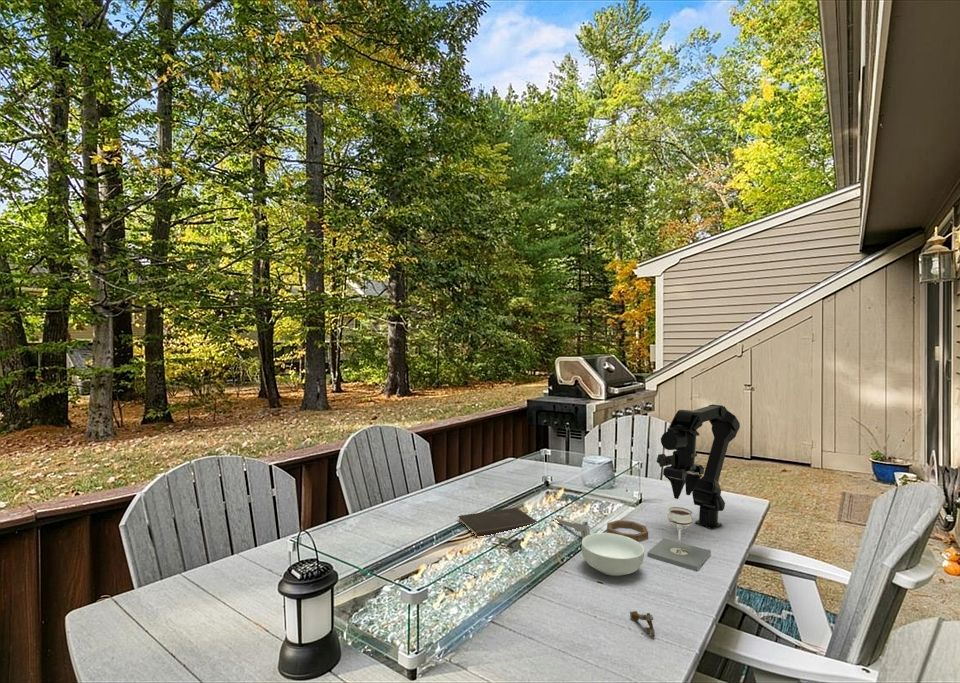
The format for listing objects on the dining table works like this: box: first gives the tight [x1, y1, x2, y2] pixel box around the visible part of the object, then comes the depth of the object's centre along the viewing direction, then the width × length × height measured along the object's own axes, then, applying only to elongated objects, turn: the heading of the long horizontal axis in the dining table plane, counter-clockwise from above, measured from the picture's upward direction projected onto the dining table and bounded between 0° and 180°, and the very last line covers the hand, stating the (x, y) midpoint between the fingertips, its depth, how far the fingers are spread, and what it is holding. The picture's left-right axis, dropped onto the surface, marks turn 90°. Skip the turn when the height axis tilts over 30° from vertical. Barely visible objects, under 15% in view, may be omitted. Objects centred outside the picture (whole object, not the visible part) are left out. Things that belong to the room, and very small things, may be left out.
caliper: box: [553, 517, 591, 540], centre depth 165 cm, size 20×1×6 cm, turn 24°
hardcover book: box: [457, 507, 538, 537], centre depth 169 cm, size 16×23×2 cm
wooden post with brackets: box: [629, 610, 656, 638], centre depth 110 cm, size 2×8×4 cm, turn 14°
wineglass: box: [667, 506, 693, 555], centre depth 148 cm, size 7×7×12 cm
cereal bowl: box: [581, 532, 645, 577], centre depth 138 cm, size 17×17×7 cm
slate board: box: [646, 537, 712, 571], centre depth 147 cm, size 14×14×1 cm
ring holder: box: [606, 519, 649, 543], centre depth 163 cm, size 12×12×2 cm
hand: (682, 496), depth 162 cm, fingers open, 9 cm apart
